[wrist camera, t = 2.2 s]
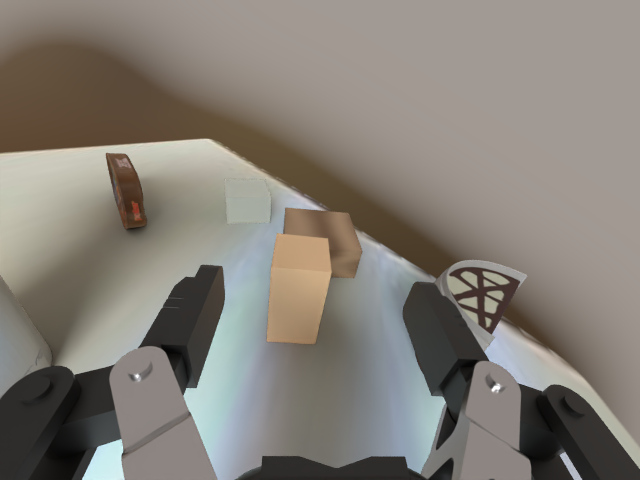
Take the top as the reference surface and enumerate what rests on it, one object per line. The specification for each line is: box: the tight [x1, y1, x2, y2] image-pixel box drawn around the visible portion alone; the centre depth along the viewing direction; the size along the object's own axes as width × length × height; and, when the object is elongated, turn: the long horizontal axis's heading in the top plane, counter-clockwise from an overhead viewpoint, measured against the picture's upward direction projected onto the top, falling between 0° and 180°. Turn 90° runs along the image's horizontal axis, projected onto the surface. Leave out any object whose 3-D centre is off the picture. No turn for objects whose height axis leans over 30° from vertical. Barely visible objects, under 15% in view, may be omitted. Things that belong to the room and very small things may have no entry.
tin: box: [106, 153, 147, 229], centre depth 40 cm, size 15×3×8 cm, turn 37°
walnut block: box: [283, 208, 362, 278], centre depth 40 cm, size 10×10×5 cm
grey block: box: [224, 179, 271, 224], centre depth 47 cm, size 7×7×5 cm
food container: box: [416, 260, 527, 397], centre depth 27 cm, size 12×6×10 cm, turn 135°
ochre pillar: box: [267, 233, 332, 344], centre depth 27 cm, size 5×5×10 cm
